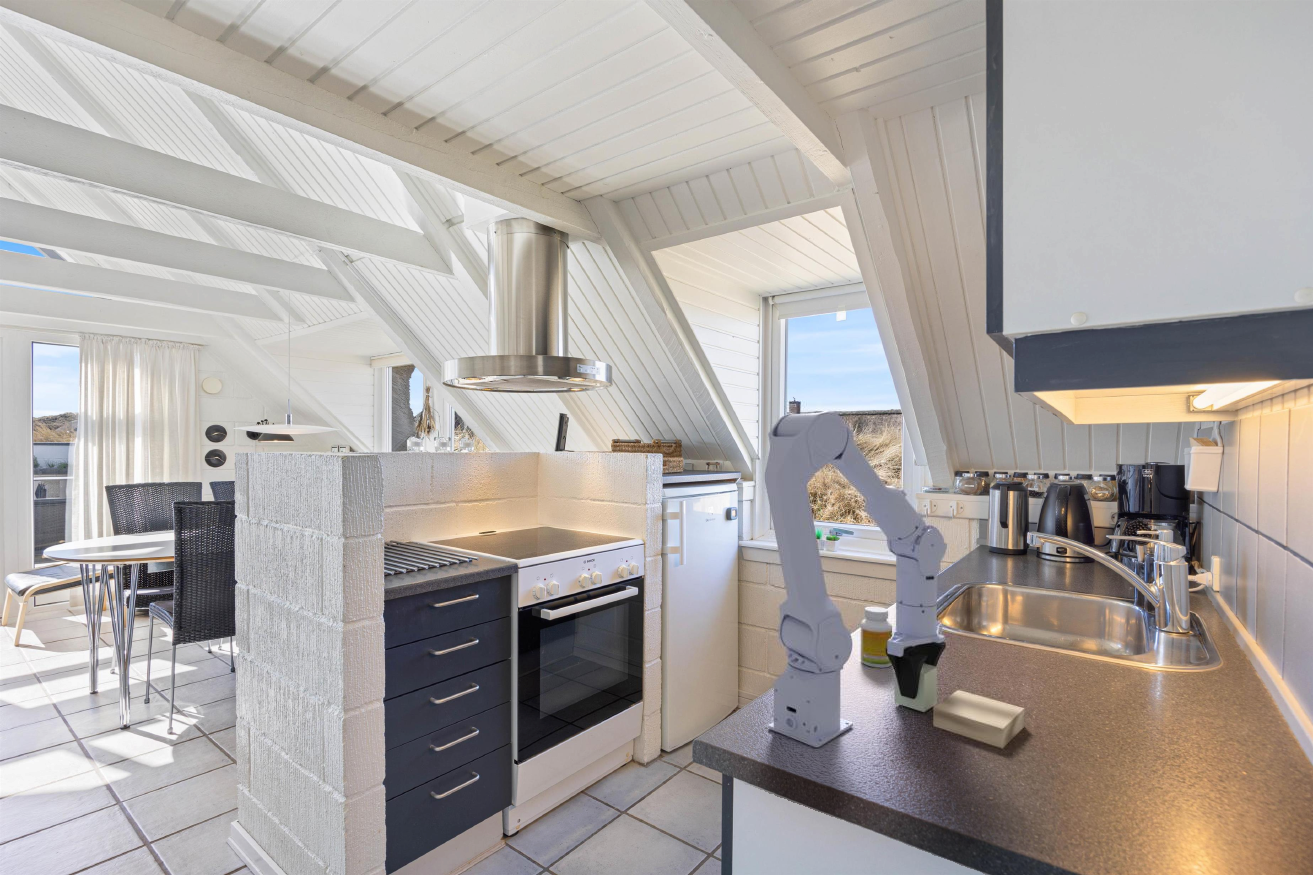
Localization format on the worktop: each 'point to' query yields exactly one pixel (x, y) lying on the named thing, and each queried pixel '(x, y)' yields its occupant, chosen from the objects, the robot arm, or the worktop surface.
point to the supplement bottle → (875, 637)
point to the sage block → (921, 690)
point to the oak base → (979, 718)
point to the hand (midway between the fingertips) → (915, 691)
